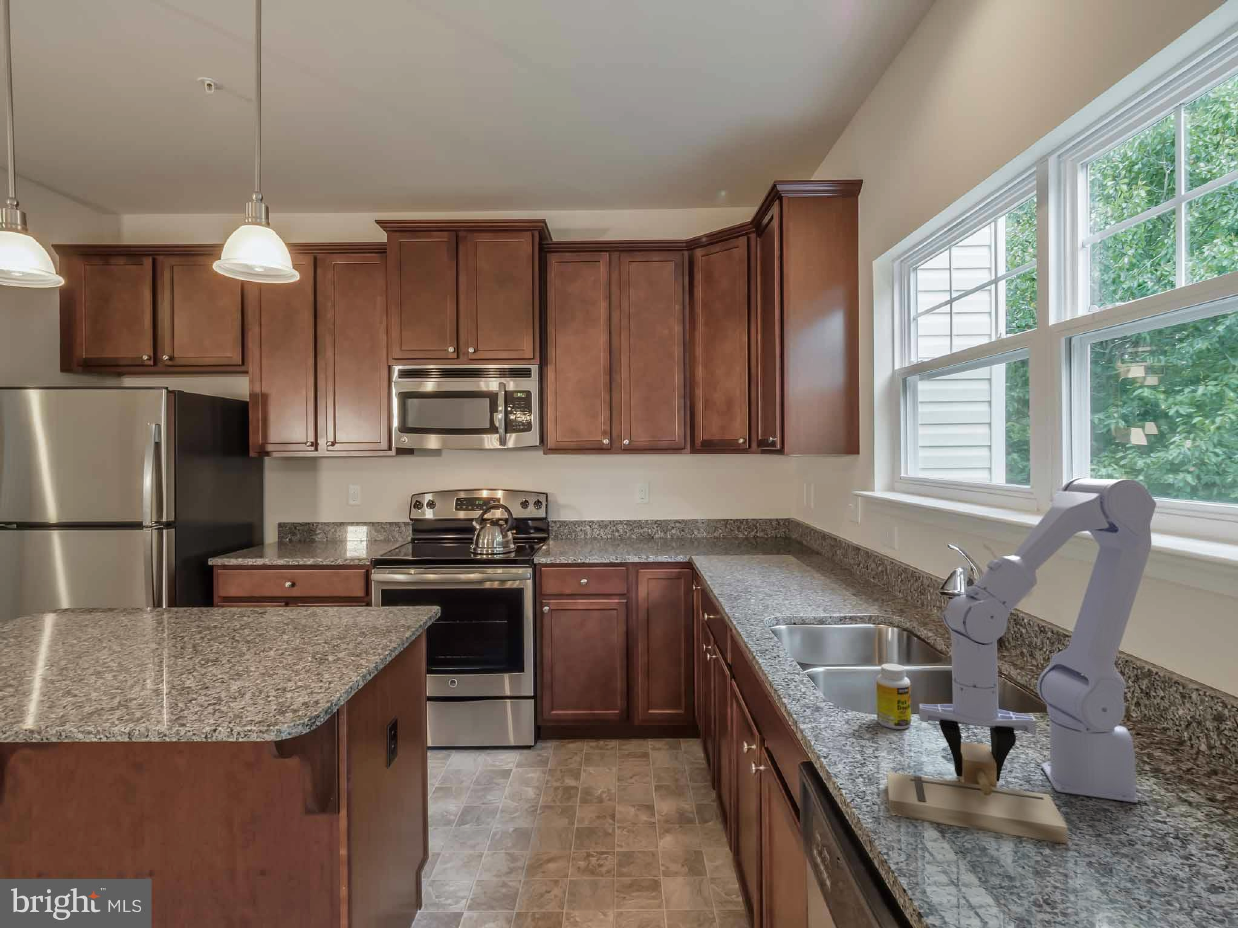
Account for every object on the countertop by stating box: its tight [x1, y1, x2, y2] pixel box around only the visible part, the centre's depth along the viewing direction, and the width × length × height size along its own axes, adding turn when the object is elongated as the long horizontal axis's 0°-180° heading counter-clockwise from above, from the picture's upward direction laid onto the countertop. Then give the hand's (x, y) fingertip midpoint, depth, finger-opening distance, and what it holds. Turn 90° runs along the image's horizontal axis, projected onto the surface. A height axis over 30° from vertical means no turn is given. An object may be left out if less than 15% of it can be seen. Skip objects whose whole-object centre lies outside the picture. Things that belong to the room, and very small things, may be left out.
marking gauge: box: [958, 741, 998, 796], centre depth 88 cm, size 4×11×5 cm, turn 159°
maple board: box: [886, 771, 1069, 845], centre depth 84 cm, size 20×8×2 cm, turn 69°
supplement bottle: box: [876, 663, 912, 730], centre depth 113 cm, size 6×6×10 cm
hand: (976, 775), depth 91 cm, fingers closed on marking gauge, 4 cm apart
